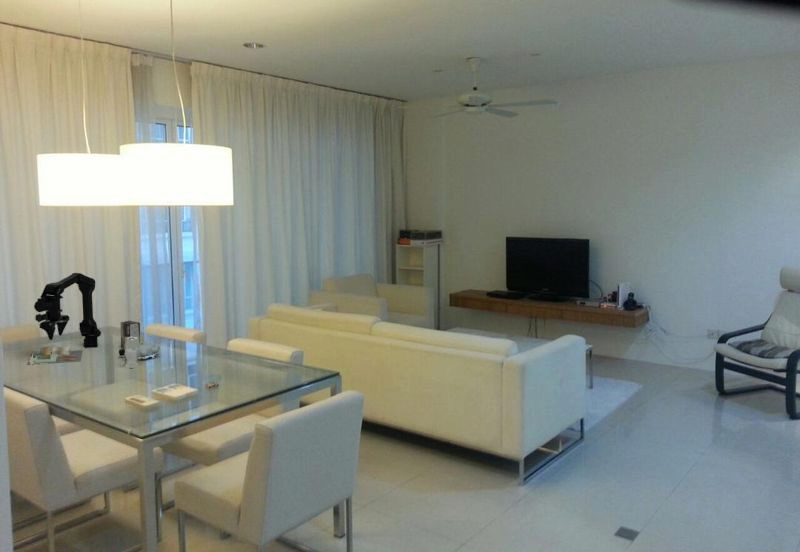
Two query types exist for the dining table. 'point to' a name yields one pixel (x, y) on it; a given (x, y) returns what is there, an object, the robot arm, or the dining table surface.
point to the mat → (78, 358)
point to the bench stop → (36, 351)
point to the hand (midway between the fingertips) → (55, 337)
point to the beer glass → (132, 350)
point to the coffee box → (129, 331)
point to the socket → (68, 357)
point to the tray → (39, 359)
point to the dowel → (45, 353)
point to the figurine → (144, 350)
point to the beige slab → (61, 351)
